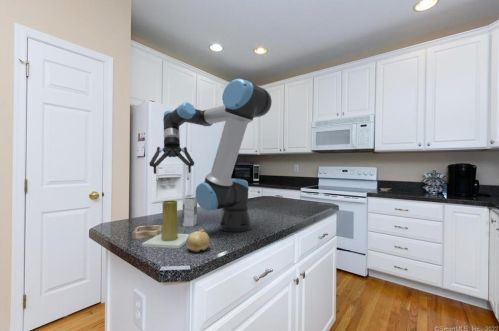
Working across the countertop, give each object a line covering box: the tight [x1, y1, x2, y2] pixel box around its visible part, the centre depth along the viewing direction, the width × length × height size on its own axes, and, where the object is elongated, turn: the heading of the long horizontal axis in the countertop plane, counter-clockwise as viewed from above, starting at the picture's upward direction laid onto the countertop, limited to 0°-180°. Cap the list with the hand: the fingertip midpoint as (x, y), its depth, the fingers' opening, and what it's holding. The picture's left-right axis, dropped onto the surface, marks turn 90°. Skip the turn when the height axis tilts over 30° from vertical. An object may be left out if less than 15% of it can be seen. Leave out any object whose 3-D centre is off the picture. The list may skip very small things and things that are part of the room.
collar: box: [131, 224, 162, 240], centre depth 99 cm, size 10×10×2 cm
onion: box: [185, 227, 211, 253], centre depth 82 cm, size 8×8×7 cm
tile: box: [141, 233, 191, 249], centre depth 91 cm, size 14×14×1 cm
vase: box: [161, 200, 179, 241], centre depth 91 cm, size 6×6×14 cm
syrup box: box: [181, 194, 198, 228], centre depth 116 cm, size 6×6×14 cm
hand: (172, 179), depth 110 cm, fingers open, 13 cm apart
